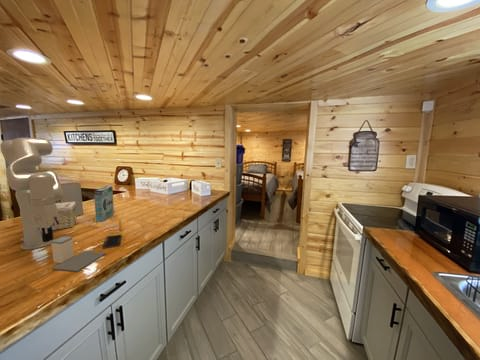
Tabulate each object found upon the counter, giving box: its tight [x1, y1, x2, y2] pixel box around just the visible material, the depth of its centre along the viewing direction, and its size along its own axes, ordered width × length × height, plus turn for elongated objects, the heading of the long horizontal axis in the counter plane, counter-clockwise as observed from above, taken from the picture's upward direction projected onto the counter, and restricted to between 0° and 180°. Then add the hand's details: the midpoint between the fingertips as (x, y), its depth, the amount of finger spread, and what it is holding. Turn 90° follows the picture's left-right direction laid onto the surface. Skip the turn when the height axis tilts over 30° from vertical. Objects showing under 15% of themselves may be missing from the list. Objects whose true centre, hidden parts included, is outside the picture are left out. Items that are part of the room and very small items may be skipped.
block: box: [50, 236, 75, 264], centre depth 89 cm, size 5×5×10 cm
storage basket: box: [19, 202, 77, 231], centre depth 126 cm, size 24×16×15 cm
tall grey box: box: [60, 182, 84, 217], centre depth 151 cm, size 12×12×25 cm
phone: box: [102, 234, 123, 250], centre depth 109 cm, size 8×1×15 cm
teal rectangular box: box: [93, 185, 115, 223], centre depth 147 cm, size 20×5×23 cm, turn 13°
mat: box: [51, 250, 107, 273], centre depth 89 cm, size 12×15×1 cm
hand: (48, 240), depth 89 cm, fingers closed
